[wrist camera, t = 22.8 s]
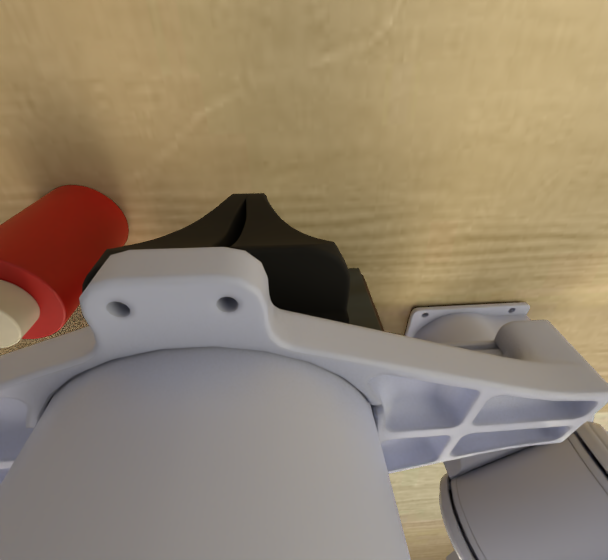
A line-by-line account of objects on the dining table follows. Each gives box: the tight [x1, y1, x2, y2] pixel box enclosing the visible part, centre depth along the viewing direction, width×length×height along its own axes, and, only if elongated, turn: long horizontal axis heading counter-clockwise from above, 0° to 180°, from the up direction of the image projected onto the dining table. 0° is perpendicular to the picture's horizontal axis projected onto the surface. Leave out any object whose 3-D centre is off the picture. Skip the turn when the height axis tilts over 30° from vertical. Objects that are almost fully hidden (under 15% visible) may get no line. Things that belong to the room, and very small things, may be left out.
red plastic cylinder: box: [0, 185, 129, 348], centre depth 15 cm, size 4×4×8 cm
